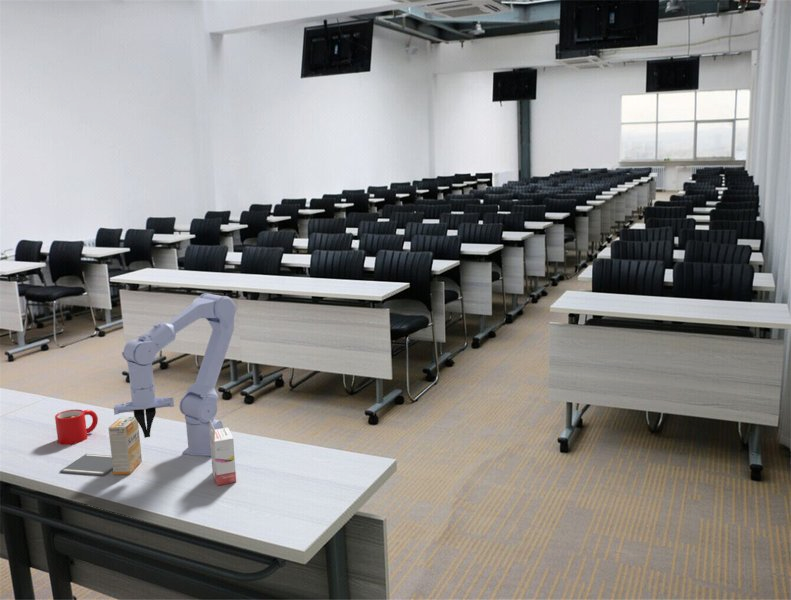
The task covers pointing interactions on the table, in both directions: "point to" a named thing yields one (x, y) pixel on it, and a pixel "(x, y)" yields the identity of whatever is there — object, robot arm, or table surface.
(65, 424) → the mug
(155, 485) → the table surface
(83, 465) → the mat
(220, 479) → the ink cartridge box
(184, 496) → the table surface
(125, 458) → the supplement box
